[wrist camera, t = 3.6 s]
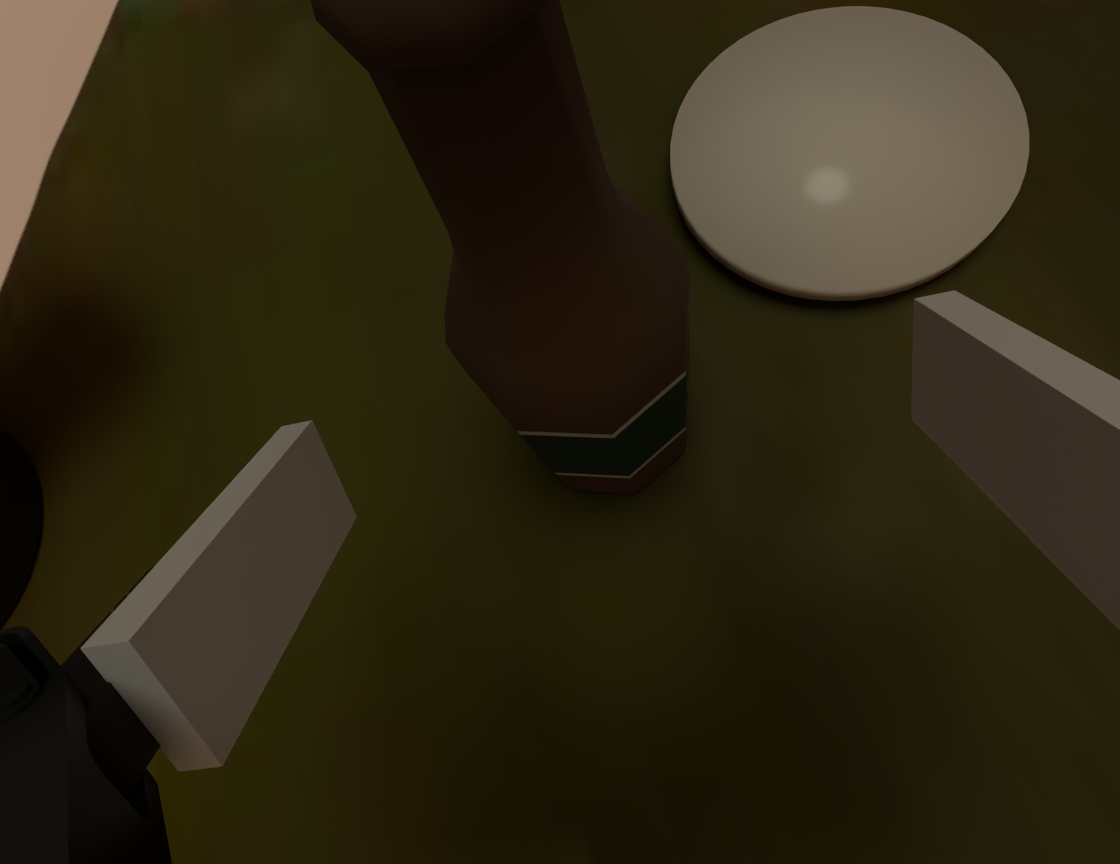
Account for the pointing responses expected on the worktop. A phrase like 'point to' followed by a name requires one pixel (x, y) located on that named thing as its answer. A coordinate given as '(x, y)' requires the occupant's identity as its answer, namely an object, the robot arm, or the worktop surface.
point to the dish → (848, 153)
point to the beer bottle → (535, 233)
